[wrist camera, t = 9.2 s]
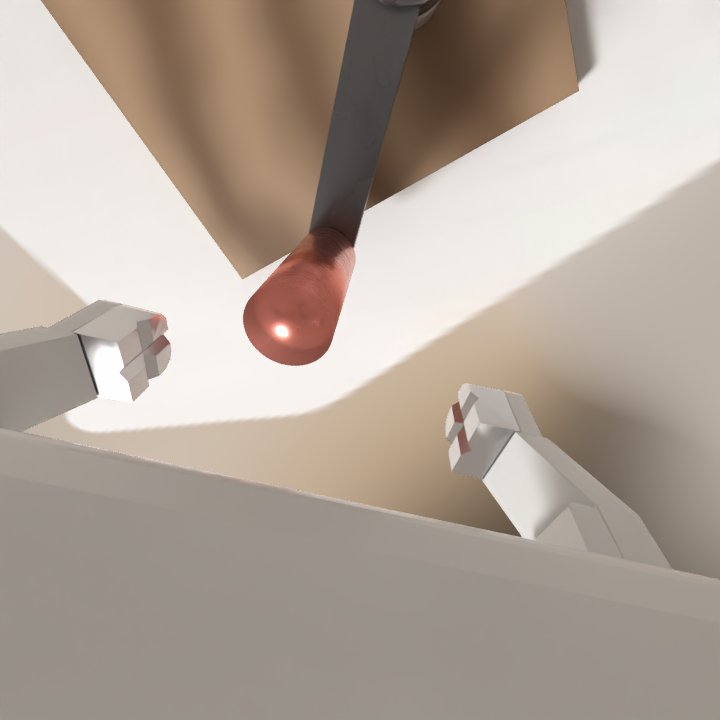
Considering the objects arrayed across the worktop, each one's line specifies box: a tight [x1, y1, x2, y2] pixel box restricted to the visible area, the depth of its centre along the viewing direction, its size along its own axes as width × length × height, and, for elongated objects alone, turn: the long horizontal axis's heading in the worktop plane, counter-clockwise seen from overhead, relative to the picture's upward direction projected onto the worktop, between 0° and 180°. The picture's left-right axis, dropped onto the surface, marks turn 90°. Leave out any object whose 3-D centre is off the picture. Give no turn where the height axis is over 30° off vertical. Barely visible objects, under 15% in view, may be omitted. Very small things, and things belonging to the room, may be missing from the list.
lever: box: [243, 0, 440, 366], centre depth 11 cm, size 19×4×10 cm, turn 164°
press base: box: [41, 0, 579, 279], centre depth 15 cm, size 22×17×5 cm
